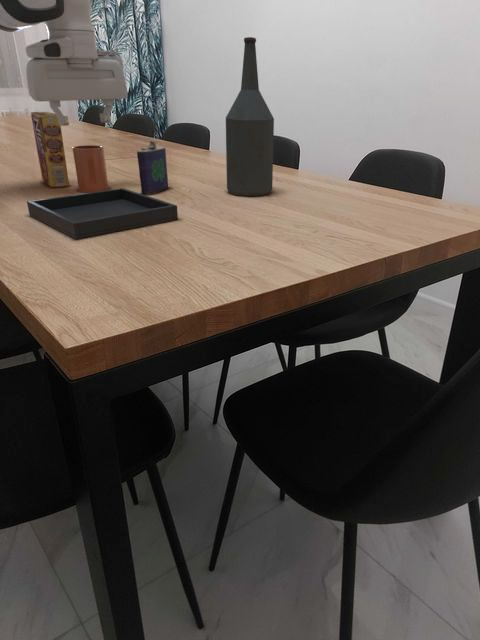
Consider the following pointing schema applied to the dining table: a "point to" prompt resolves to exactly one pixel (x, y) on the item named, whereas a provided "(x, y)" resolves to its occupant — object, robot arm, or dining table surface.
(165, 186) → the flask
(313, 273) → the dining table surface
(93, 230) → the tray
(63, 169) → the candy box
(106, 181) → the cup
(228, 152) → the bottle
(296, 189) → the dining table surface
